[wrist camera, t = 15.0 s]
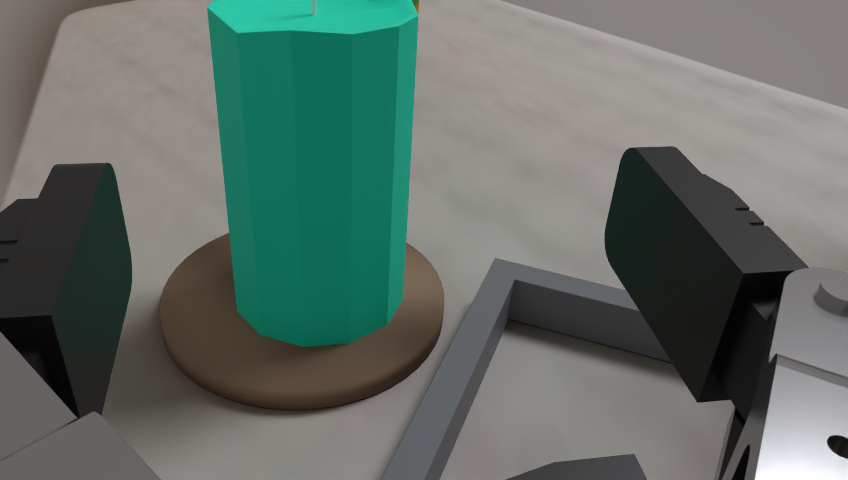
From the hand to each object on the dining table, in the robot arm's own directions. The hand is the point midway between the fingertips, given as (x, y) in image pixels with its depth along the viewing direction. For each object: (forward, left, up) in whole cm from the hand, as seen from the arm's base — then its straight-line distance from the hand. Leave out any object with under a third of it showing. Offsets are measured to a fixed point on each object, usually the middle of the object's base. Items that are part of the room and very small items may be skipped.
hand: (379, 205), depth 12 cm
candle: (-10, -6, -11) cm, 16 cm away
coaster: (-10, -7, -11) cm, 16 cm away
